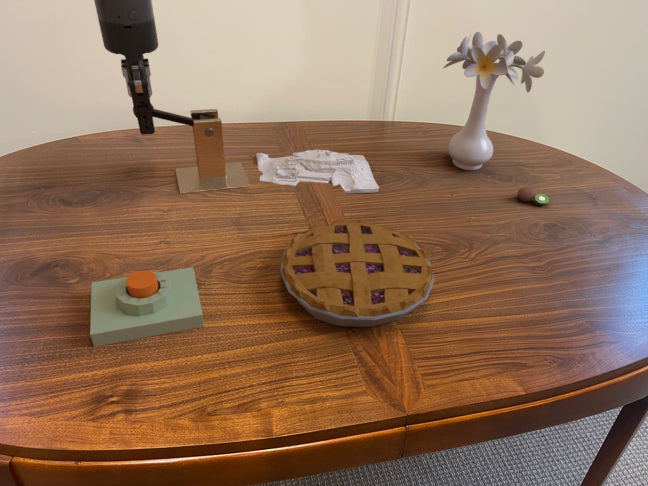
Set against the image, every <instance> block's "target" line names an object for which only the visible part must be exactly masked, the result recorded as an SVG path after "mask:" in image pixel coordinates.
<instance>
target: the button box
mask: <svg viewBox="0 0 648 486" xmlns="http://www.w3.org/2000/svg"><path fill="white" fill-rule="evenodd" d="M150 271H151V272H153V273H155V275H156V277H157V281H158V286H159V289H158V291H157V293H156V294H154V295H152V296H150V297H147V298H141V299H138V298H133V297H132V296H130V294H129V292H128V288H127V284H126V279H127V277H128V276H126V277H125V276H124V277H118V278H111V279H104V280H98V281H92V282H91V283H90V284H91V285H90V286H91V287H90V318H89V319H90V320H89V321H90V322H89V337H90V340H91V342H92V345H93V347H94V348H96V347H101V346H107V345H111V344H113V345H114V344H117V343H123V342H128V341H134V340H139V339H145V338H150V337H157V336H161V335H167V334H171V333H172V334H173V333H177V332H183V331H189V330H193V329H199V328H203V327H205V322H204V321H205V320H204V316H203V310H202V304H201V299H200V294H199V289H198V285H197V279H196V274H195V269H194V267H193V266H191V267H186V268H185V267H184V268H179V269H177V268H176V269H173V270H165V271H152V270H150Z"/></svg>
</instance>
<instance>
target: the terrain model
mask: <svg viewBox="0 0 648 486" xmlns="http://www.w3.org/2000/svg"><path fill="white" fill-rule="evenodd" d="M255 160H256V165H257V168H258V171H259V172H261V173H262V174H261V175H260V176H259V182H269V183H270V182H271V183H272V184H277V185H279V186H286V185H287V186H288V185H289V186H292V187H297V185H298V184H299V183H300V182H302V183H303V182H304V183H320V184H321V183H322V184H329V183H330V182H331V185H332V186H333V187H336V186H338V185H340V187H341V188H342V189H343V191H344V193H345V194H368V193H379V190H380V186H379V185H378V183H377V182H376V180H375V178H374V175H373V172H372V170H371V167H370V165H369V161H368V160H367V159H366V157H365V156H364V155H363V154H349V153H348V152H343V153H342V152H338V151H332V150H328V149H313V150H307V149H306V150H305V151H301V152H300V151H298V152H296V151H295V152H292V155H288V156H282V157H269V154H267V153H264V152H257V153H256V155H255Z"/></svg>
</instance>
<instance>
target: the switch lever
mask: <svg viewBox="0 0 648 486" xmlns="http://www.w3.org/2000/svg"><path fill="white" fill-rule="evenodd" d="M146 103H147V102H137V104H146ZM151 106H152V108H153V110H152V117H153V118H156V119H160V120H165V121H169V122H173V123H177V124H182V125H186V126H190V127H192V126H194V123H193V120H203V119H215V118H211V117H207V116H203V115H199V118H198V119H193V118H191V117H189V116H185V115H182V114H181V115H180V114H176V113H172V112H168V111H164V110H160V109H156V108H155V107H154V105H153V104H152V103H151ZM133 107H134V105H133ZM133 107H132V108H133ZM132 112H133V115H134V117H135V118H136V119H137V113H135V111H134V110H133V109H132Z"/></svg>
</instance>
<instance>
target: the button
mask: <svg viewBox="0 0 648 486" xmlns="http://www.w3.org/2000/svg"><path fill="white" fill-rule="evenodd" d="M151 271H152V270H147V269H145V270H143V269H142V270H136V271H134V272H132V273H130V274H129V275H128V276H126V277H127V279H126V284H127V288H128V292H129V294H130V296H132V297H133V298H138V299H141V298H147V297H150V296H152V295H154V294H156V293H157V291H158V289H159V286H158V281H157V277H156V275H155V273H153V272H154V271H152V272H151Z"/></svg>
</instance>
